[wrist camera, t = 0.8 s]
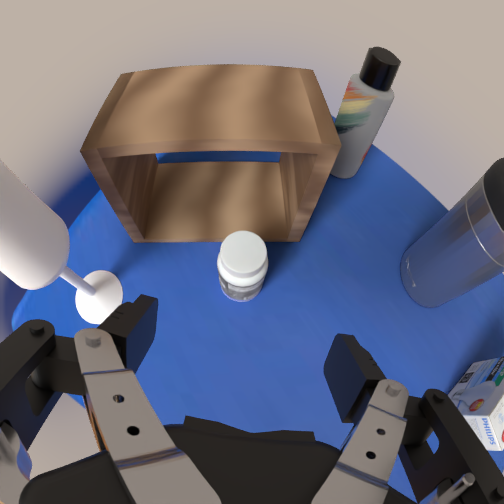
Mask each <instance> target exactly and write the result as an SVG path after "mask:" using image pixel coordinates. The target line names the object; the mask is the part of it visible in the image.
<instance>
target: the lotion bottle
mask: <svg viewBox="0 0 504 504" xmlns="http://www.w3.org/2000/svg"><path fill="white" fill-rule="evenodd" d="M400 63H401V61H400V60H399V59H398V58H397V57H396V56H395V55H394V54H393V53H391V52H390V51H388V50H387V49H384V48H381V47H373V48H369V50H368V53H367V55H366V58H365V61H364V63H363V66H362V69H361V72H360V73H359V74H354V75H352V76H351V78H350V81H349V83H348V86H347V89H346V92H345V95H344V98H343V101H342V103H341V107H340V109H339V112H338V115H337V118H336V121H335V123H334V125H335V128H336V131H337V133H338V136H339V139H340V142H341V148H340V150H339V153H338V155H337V157H336V160H335V162H334V165H333V167H332V169H331V172H330V174H332V175H334V176H336V177H338V178H344V179H346V178H351V177H353V176H354V175H355V174H356V172H357V171H358V169H359V167H360V166H361V164H362V162H363V160H364V158H365V156H366V154H367V152H368V150H369V148H370V146H371V144H372V142H373V140H374V138H375V136H376V134H377V132H378V130H379V128H380V126H381V124H382V122H383V120H384V118H385V116H386V114H387V112H388V110H389V108H390V106H391V104H392V101H393V99H394V92H393V90H392V89H391V88H390V87H391V85H392V83H393V80H394V78H395V76H396V73H397V71H398V68H399V66H400Z"/></svg>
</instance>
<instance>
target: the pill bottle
mask: <svg viewBox="0 0 504 504" xmlns="http://www.w3.org/2000/svg"><path fill="white" fill-rule="evenodd" d="M217 267H218V273H219V280H220V285H221V289H222V291H223V292H224V294H225V295H226V296H227V297H228V298H230V299H232V300H234V301H239V302H244V301H249V300H251V299H253V298H254V297H255V296H257V294H258V293H259V292H260V290H261V288H262V285H263V281H264V278H265V275H266V272H267V269H268V257H267V248H266V245H265V243H264V241H263V240H262V239H261V238H260V237H259V236H258V235H257V234H255V233H253V232H250V231H237V232H234V233H232V234H230V235H228V236H227V237H226V238H225V240H224V241H223V243H222V245H221V249H220V253H219V255H218V260H217Z"/></svg>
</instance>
